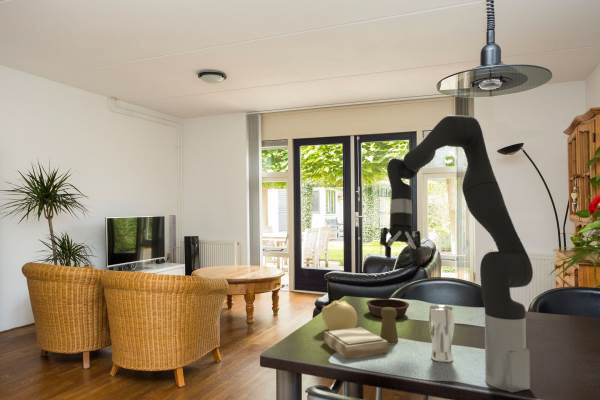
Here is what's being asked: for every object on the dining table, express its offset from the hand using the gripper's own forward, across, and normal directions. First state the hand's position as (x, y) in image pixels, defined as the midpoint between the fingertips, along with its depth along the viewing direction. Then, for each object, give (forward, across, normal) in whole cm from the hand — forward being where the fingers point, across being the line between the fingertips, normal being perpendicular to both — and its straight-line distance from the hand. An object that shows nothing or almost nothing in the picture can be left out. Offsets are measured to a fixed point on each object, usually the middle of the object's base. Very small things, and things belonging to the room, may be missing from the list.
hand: (400, 259), depth 146 cm
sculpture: (+26, -16, +14) cm, 34 cm away
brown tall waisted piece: (+28, -3, 0) cm, 28 cm away
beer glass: (+30, +5, -18) cm, 35 cm away
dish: (+21, +10, +32) cm, 40 cm away
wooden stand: (+29, -17, -4) cm, 34 cm away
